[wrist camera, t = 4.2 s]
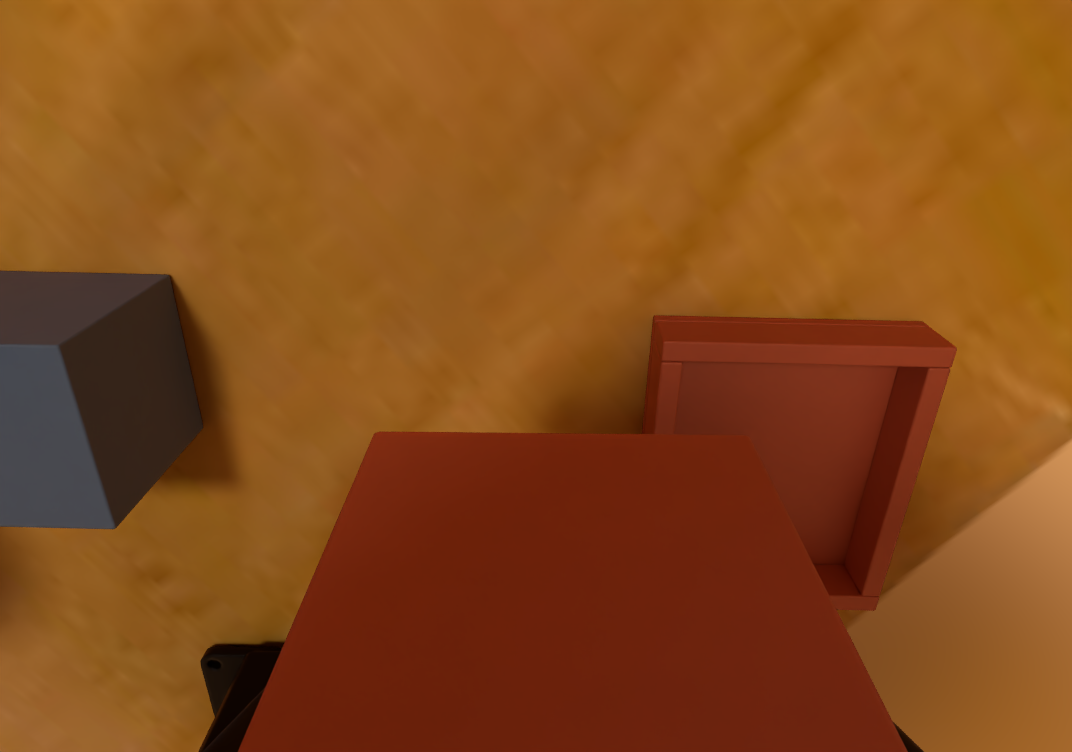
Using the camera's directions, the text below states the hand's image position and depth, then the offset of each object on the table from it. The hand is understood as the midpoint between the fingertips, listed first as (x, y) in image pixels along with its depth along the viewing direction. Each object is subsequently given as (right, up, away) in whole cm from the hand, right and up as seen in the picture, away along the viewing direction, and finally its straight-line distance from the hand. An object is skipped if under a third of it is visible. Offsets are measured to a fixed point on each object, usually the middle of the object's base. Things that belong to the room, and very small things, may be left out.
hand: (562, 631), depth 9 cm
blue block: (-13, +4, +11) cm, 18 cm away
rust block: (0, +1, +1) cm, 1 cm away
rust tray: (+7, +1, +13) cm, 14 cm away
